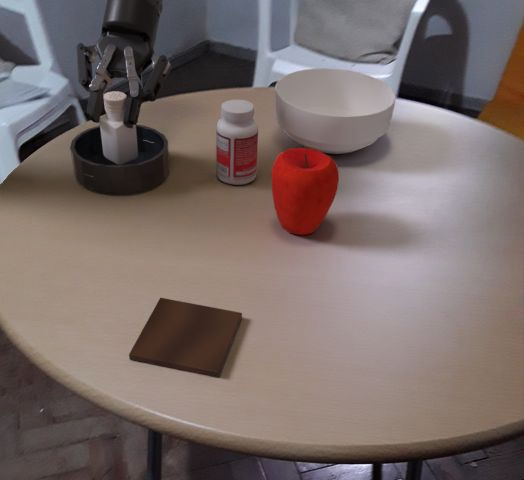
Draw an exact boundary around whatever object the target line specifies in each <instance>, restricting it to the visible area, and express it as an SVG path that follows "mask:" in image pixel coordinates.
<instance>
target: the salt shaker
mask: <svg viewBox="0 0 524 480" xmlns="http://www.w3.org/2000/svg"><path fill="white" fill-rule="evenodd" d="M103 99H104V101H103V105H104V110H105V114H104V115H102V116H100V121H99V126H100V130H101V138H102V147H103V154H104V156H105V157H106V158H107V159H109V160H111V161H113V162H114V163H116V164H119V165H121V164H124V163H126V162H129V161H131V160H133V159H136V158H137V157H138V146H137V134H136V125H133V128H127V127H126V126H125V125H124V123H123V119H124V114H125V109H126V104H127V99H128V96H127V94H125V92H122V91H117V90H116V91H115V90H113V91H106V92H105V94H104V96H103Z"/></svg>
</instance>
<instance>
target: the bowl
mask: <svg viewBox="0 0 524 480" xmlns="http://www.w3.org/2000/svg"><path fill="white" fill-rule="evenodd" d="M396 98H397V97H396V95H395V91H394V90H393V88H392V87H390V86H389V85H388V84H387V83H385V82H384V81H382V80H380V79H378V78H377V77H374V76H371V75H369V74H366V73H362V72H358V71H353V70H347V69H341V68H330V67H329V68H328V67H327V68H325V67H324V68H317V67H316V68H308V69H307V68H306V69H301V70H296V71H293V72H289V73H287V74H286V75H284V76H282V77H281V78H279V79H278V80H277V81H276V84H275V85H274V120H275V121H276V123H277V124H278V125H279V126H280V127H281V129H282V131H283V133H284V134H285V135H286V136H287V137H289V138H290V139H292V140H293V141H294V142H296V143H297V144H298V145H300V146H302V147H303V148H307V149H314V150H318V151H320V152H322V153H324V154H334V155H335V154H336V155H338V154H339V155H340V154H348V153H349V154H350V153H353V152H357V151H358V150H361V149H364V148H366V147H368V146H370V145H372V144H374V143H375V142H377V140H379V138H381V137H382V136H384V135H385V134H386V133H387V132H388V130H389V129H390V125H391V121H392V118H393V114H394V109H395V105H396V100H397V99H396Z"/></svg>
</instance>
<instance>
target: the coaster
mask: <svg viewBox="0 0 524 480" xmlns="http://www.w3.org/2000/svg"><path fill="white" fill-rule="evenodd" d="M242 319H243V313H242V312H240V311H235V310H229V309H223V308H218V307H213V306H207V305H204V304H203V305H202V304H197V303H191V302H186V301H181V300H177V299H176V300H175V299H171V298H165V297H159V299H158V301H157V302H156V305H155V306H154V308H153V310H152V311H151V314H150V315H149V317H148V319H147V321H146V323H145V325H144V326H143V328H142V330H141V331H140V334H139V335H138V337H137V339H136V341H135V342H134V344H133V346H132V348H131V350H130V352H129V354H128V357H129V360H130V361H136V362H137V361H138V362H141V363H147V364H151V365H157V366H162V367H166V368H171V369H177V370H179V371H186V372H191V373H195V374H202V375H204V376H205V375H206V376H211V377H215V378H220V375H221V373H222V370H223V368H224V365H225V362H226V361H227V357H228V355H229V352H230V349H231V347H232V344H233V342H234V339H235V337H236V334H237V331H238V330H239V329H238V328H239V327H240V323H241V322H242Z"/></svg>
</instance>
